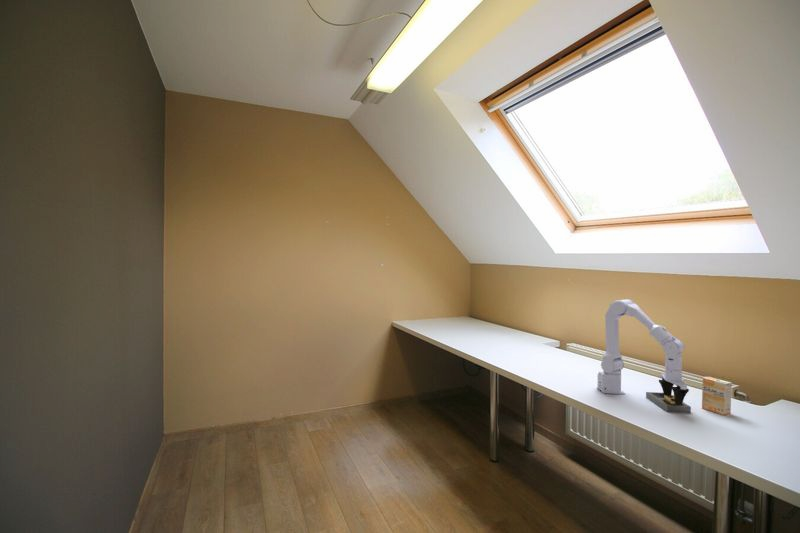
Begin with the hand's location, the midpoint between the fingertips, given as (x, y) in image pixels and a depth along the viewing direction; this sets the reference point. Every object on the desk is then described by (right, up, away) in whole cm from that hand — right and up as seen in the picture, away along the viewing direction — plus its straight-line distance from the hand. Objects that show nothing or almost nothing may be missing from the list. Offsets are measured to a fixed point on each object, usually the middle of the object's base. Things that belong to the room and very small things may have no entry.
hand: (672, 400), depth 158 cm
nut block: (0, -3, 0) cm, 3 cm away
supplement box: (+16, -4, -3) cm, 16 cm away
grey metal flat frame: (0, -3, +4) cm, 5 cm away
